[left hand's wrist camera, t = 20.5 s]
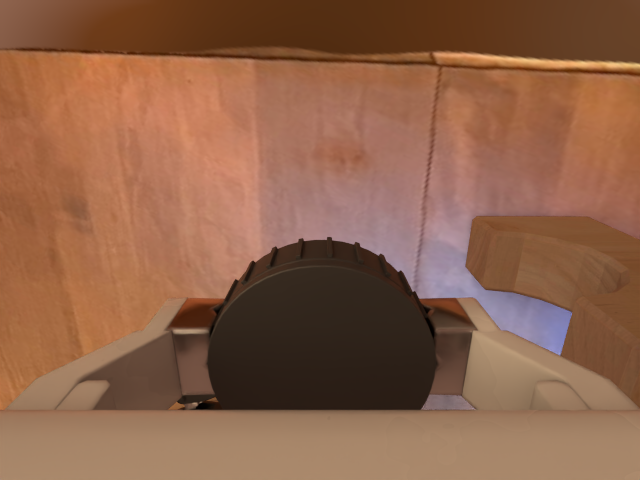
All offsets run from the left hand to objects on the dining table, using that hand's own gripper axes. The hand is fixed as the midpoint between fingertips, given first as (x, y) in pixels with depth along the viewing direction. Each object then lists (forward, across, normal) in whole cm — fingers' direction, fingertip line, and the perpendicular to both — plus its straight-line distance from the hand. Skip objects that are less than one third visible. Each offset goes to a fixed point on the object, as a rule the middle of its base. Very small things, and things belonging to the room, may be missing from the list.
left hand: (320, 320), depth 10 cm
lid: (-2, 0, 0) cm, 2 cm away
